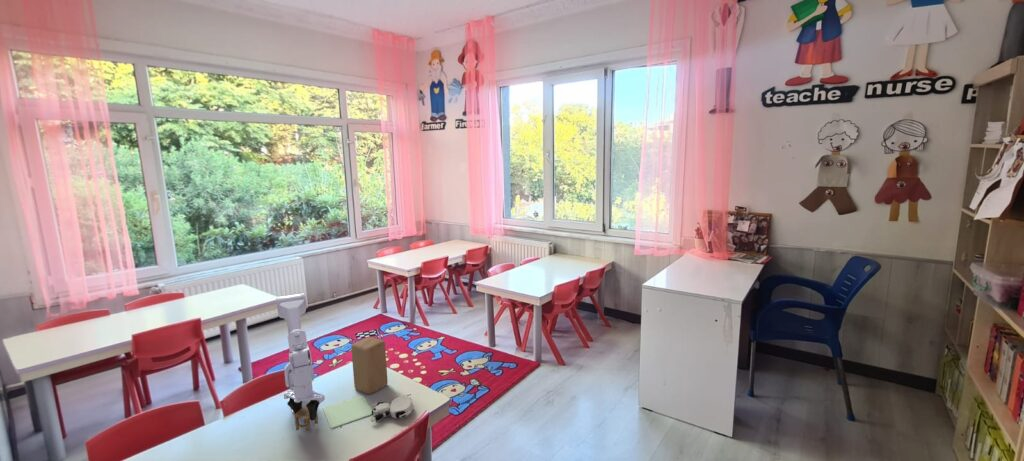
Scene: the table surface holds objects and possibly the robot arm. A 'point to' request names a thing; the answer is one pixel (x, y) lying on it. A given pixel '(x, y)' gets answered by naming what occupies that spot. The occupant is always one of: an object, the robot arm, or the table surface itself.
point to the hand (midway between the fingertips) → (306, 418)
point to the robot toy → (393, 408)
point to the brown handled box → (304, 415)
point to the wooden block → (369, 365)
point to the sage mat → (347, 411)
